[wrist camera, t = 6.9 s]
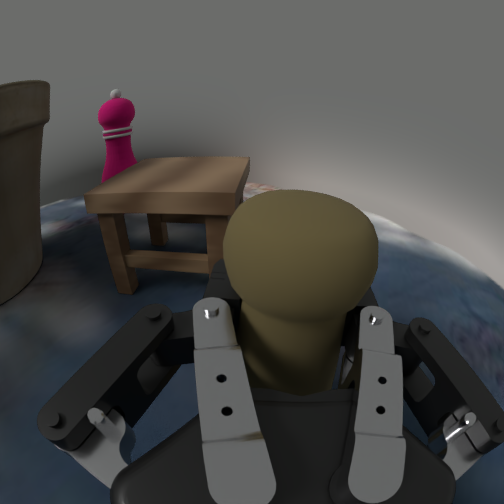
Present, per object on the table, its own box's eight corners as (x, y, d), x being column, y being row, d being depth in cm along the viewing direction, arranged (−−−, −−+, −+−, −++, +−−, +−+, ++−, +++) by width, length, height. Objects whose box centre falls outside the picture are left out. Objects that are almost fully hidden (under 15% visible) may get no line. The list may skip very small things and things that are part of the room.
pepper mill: (123, 218, 38) (109, 87, 28) (98, 211, 41) (85, 95, 31) (155, 202, 44) (147, 84, 33) (128, 197, 46) (120, 91, 36)
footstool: (110, 296, 23) (83, 194, 18) (154, 236, 33) (144, 158, 28) (236, 309, 22) (235, 192, 17) (248, 240, 33) (249, 157, 28)
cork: (200, 384, 14) (173, 192, 8) (278, 338, 17) (299, 169, 12) (271, 461, 10) (328, 286, 5) (348, 394, 14) (426, 216, 8)
